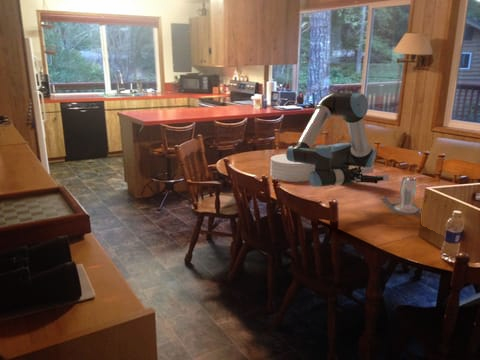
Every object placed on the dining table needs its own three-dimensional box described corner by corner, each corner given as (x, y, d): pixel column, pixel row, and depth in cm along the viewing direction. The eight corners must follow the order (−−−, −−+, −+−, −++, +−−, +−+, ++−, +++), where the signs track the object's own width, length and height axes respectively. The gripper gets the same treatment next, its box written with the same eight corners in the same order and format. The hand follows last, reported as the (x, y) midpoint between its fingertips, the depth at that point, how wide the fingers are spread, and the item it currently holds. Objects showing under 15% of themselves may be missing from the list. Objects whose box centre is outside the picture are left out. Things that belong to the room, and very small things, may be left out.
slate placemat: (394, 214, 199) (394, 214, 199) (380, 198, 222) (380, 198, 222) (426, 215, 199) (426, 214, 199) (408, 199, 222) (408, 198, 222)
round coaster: (398, 213, 200) (398, 211, 200) (390, 205, 211) (391, 204, 211) (421, 213, 200) (421, 212, 200) (412, 206, 210) (413, 204, 210)
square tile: (391, 205, 212) (391, 203, 212) (385, 198, 221) (385, 197, 221) (411, 205, 211) (411, 203, 211) (404, 199, 221) (404, 197, 221)
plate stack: (313, 183, 252) (314, 164, 248) (267, 180, 257) (267, 162, 254) (314, 171, 278) (315, 154, 275) (273, 169, 283) (273, 153, 280)
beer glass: (409, 205, 208) (413, 177, 204) (416, 210, 202) (419, 181, 197) (396, 206, 208) (399, 177, 204) (402, 210, 201) (405, 181, 197)
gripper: (329, 177, 213) (366, 174, 217) (352, 192, 189) (394, 188, 194) (329, 163, 210) (367, 160, 215) (354, 176, 187) (395, 173, 192)
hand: (380, 173), depth 205 cm, fingers open, 13 cm apart
